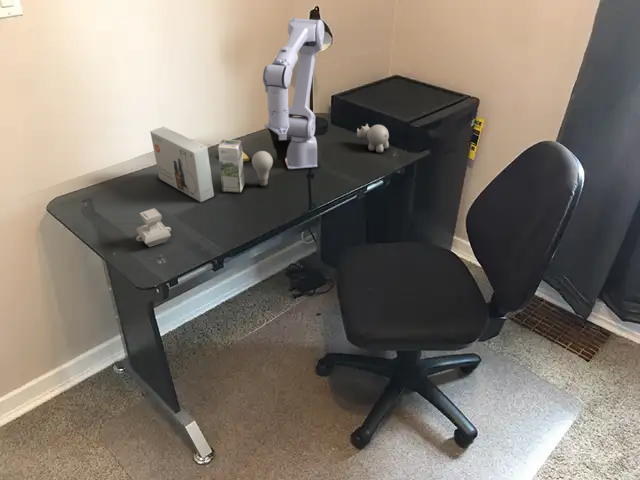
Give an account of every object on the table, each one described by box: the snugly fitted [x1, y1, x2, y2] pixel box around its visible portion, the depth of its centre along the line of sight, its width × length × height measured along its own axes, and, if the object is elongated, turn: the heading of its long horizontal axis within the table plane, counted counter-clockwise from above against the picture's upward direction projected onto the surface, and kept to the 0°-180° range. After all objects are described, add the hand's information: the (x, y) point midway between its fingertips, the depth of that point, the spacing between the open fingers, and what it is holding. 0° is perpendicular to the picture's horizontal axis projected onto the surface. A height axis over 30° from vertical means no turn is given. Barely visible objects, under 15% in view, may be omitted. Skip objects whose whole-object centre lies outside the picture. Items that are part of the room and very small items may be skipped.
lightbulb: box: [251, 150, 274, 187], centre depth 167 cm, size 6×6×11 cm
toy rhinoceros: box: [356, 123, 390, 154], centre depth 192 cm, size 7×12×8 cm, turn 52°
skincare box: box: [149, 126, 215, 203], centre depth 164 cm, size 21×5×16 cm, turn 47°
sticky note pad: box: [242, 150, 250, 163], centre depth 185 cm, size 8×8×1 cm
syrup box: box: [217, 139, 246, 194], centre depth 164 cm, size 6×6×14 cm
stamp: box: [135, 207, 172, 248], centre depth 141 cm, size 9×7×8 cm
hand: (279, 153), depth 164 cm, fingers open, 7 cm apart
